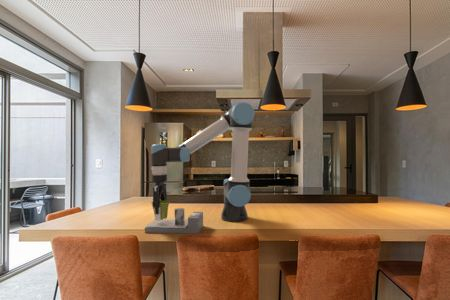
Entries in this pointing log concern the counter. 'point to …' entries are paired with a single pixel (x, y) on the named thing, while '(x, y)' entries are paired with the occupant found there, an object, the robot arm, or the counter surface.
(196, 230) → the scale
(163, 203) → the plant pot
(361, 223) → the counter surface
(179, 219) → the spacer
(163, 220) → the pan
